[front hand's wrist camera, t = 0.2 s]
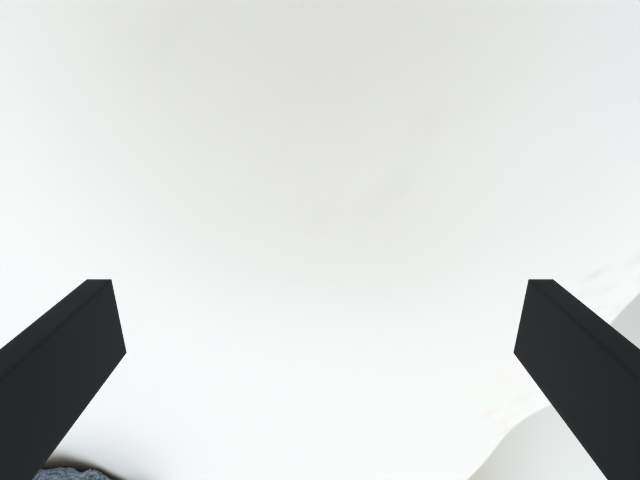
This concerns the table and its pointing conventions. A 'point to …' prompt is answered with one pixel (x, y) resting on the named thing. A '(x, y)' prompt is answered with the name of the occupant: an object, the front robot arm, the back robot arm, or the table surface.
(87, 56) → the table surface
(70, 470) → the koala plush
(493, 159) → the table surface
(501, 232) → the table surface
